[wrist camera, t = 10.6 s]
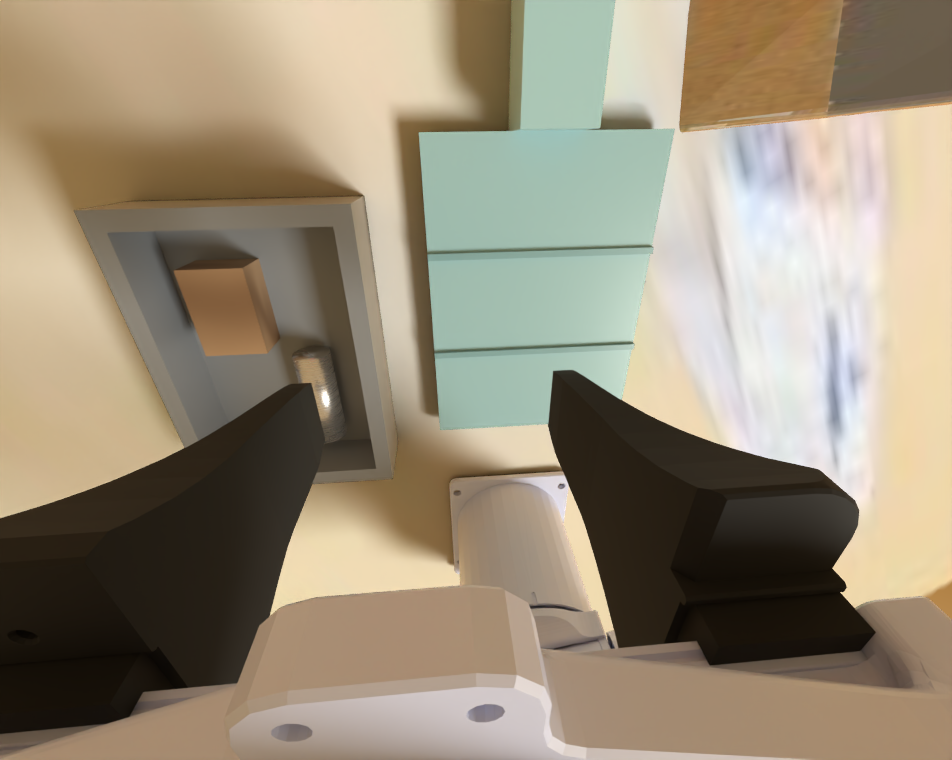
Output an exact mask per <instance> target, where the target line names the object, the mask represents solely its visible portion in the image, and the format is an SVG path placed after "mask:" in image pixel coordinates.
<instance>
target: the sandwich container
mask: <svg viewBox="0 0 952 760" xmlns="http://www.w3.org/2000/svg"><path fill="white" fill-rule="evenodd" d="M948 104H952V0H690V7H689V14H688V27H687V39H686V51H685V63H684V75H683V87H682V99H681V111H680V123H679V126H680V131H681V132H691V131H701V130H711V129H721V128H731V127H741V126H750V125H760V124H770V123H780V122H790V121H800V120H810V119H819V118H828V117H835V116H843V115H855V114H862V113H870V112H879V111H889V110H900V109H910V108H919V107H929V106H938V105H948Z"/></svg>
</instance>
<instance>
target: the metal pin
mask: <svg viewBox="0 0 952 760" xmlns="http://www.w3.org/2000/svg"><path fill="white" fill-rule="evenodd" d="M292 359H293V363H294V366H295V370H296V374H297V378H298V381H299V383H312V387H313V391H314V395H315V399H316V404H317V408H318V412H319V416H320V420H321V424H322V428H323V432H324V436H325V442H324V444H327V443H333V442H336V441H338V440H340V439H342V438H343V437H344V436H345V435H346V433H347V428H346V424H345V419H344V414H343V409H342V405H341V400H340V395H339V390H338V386H337V381H336V376H335V372H334V367H333V362H332V357H331V353H330V349H329V348H328V347H326V346H308V347H304V348H301V349H299V350H297V351H295V352H294V353H293V354H292Z"/></svg>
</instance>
